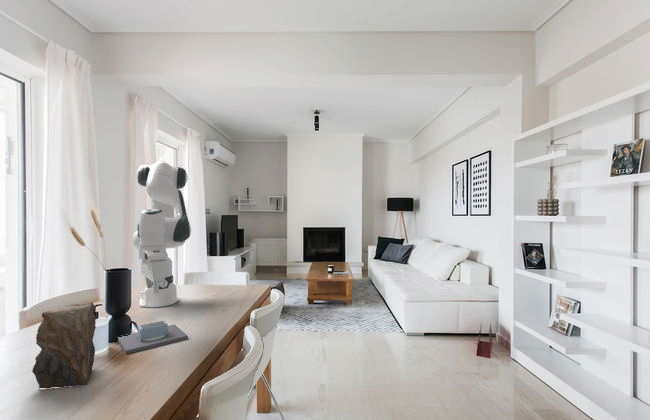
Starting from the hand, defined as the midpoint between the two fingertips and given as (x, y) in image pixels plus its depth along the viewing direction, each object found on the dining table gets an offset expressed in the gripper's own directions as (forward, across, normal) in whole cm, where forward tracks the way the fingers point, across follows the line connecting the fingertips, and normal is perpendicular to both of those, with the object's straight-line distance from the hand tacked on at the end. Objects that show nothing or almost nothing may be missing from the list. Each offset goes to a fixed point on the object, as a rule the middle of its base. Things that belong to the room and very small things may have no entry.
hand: (152, 290), depth 121 cm
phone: (+17, 0, 0) cm, 17 cm away
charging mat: (+18, 0, 0) cm, 18 cm away
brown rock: (+18, +17, -25) cm, 35 cm away
